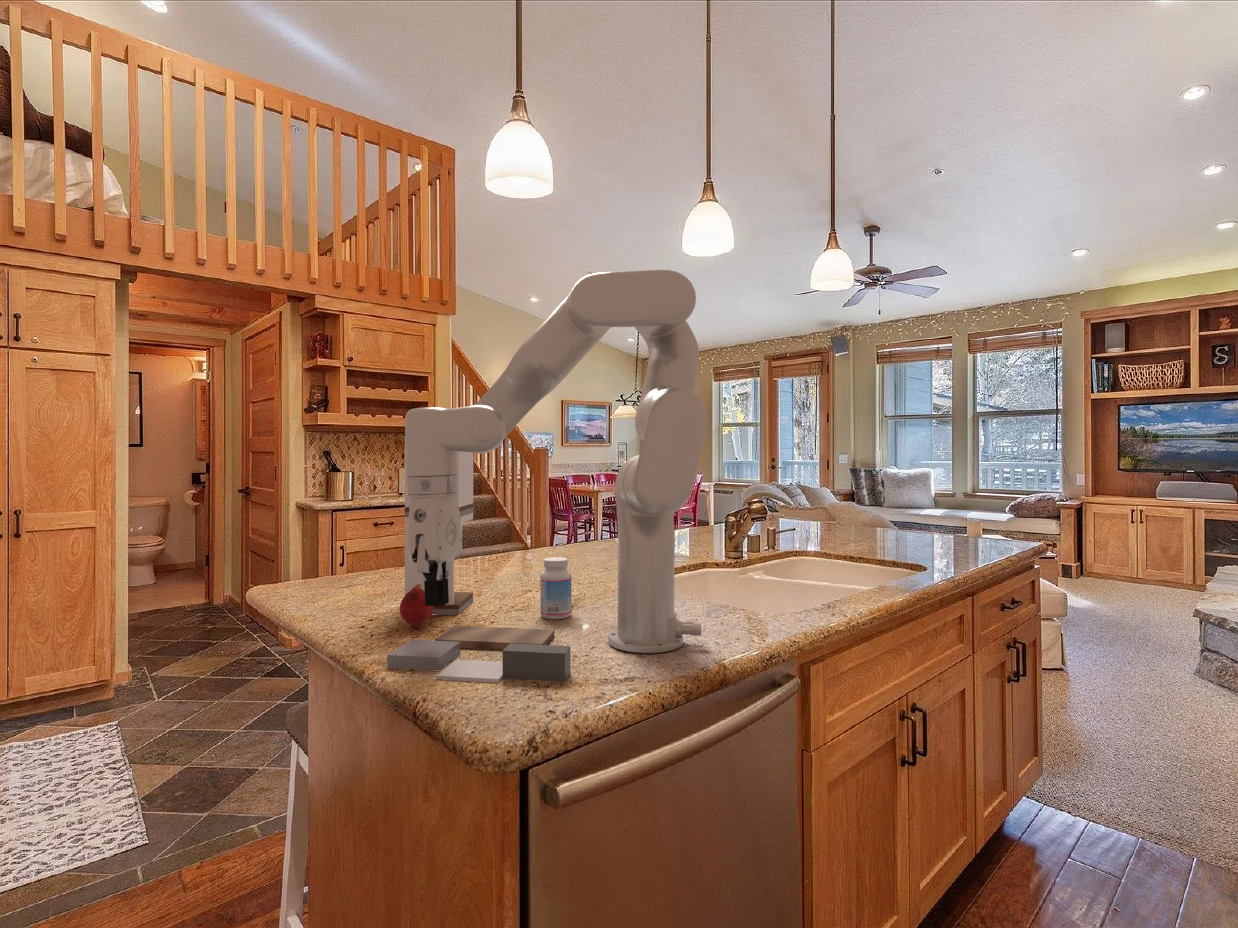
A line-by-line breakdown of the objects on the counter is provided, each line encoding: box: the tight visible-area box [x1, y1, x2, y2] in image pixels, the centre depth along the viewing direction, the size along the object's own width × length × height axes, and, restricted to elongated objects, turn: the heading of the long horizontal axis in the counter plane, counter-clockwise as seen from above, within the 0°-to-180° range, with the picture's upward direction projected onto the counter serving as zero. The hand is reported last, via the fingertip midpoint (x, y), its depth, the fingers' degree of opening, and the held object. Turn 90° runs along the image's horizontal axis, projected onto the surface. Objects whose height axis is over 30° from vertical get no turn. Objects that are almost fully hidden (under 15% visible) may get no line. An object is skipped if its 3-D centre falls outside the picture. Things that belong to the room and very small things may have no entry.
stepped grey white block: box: [436, 643, 571, 684], centre depth 91 cm, size 18×7×4 cm, turn 82°
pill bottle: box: [539, 556, 573, 620], centre depth 124 cm, size 6×6×11 cm
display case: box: [404, 438, 474, 616], centre depth 130 cm, size 11×11×35 cm
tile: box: [387, 639, 461, 671], centre depth 97 cm, size 8×2×8 cm
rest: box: [434, 625, 555, 651], centre depth 107 cm, size 18×8×1 cm, turn 82°
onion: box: [399, 584, 434, 629], centre depth 115 cm, size 6×6×8 cm
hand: (437, 604), depth 99 cm, fingers closed
